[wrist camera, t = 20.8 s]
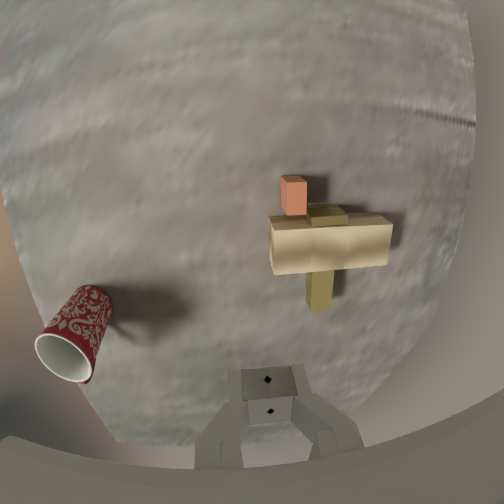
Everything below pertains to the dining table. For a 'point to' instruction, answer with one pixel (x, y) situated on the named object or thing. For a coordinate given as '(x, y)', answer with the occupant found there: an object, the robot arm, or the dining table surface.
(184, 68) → the dining table surface
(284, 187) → the orange block
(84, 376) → the mug
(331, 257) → the block
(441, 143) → the dining table surface
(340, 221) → the pin
